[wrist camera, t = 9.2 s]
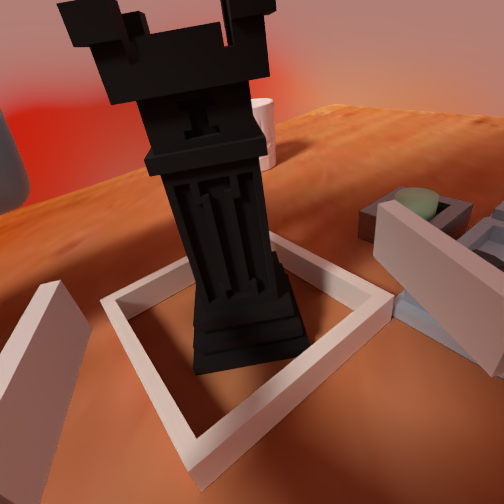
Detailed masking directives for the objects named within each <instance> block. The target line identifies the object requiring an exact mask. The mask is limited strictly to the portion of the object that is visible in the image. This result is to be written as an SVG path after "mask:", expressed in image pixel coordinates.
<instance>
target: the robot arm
mask: <svg viewBox="0 0 504 504" xmlns="http://www.w3.org/2000/svg"><path fill="white" fill-rule="evenodd" d="M29 194H30V181H29V178H28V175H27V172H26V169H25V166H24V164H23V161H22V159H21V156H20V153H19V151H18V149H17V146H16V144H15V141H14V139H13V137H12V134H11V132H10V129H9V127H8V125H7V123H6V120H5V118H4V116H3V114H2V111H1V109H0V215H2V214H5V213H7V212H10V211H12V210H15V209H17V208H19V207H20V206H22V205H23V203H25V201H26V200H27V199H28V197H29ZM373 257H374V258H375V259H376V260H377V261H378V262H379V263H380V264H381V265H382V266H383V267H384V268H385V269H386V270H387V271H388V272H389V273H390V274H391V275H392V276H393V277H394V278H395V279H396V280H397V281H398V282H399V283H400V284H401V285H402V286H403V287H404V288H405V289H406V290H407V291H408V292H409V294H410V295H411V296H412V297H413V298H414V299H415V300H416V301H417V302H418V303H419V304H420V305H421V306H422V307H423V308H424V309H425V310H426V311H427V312H428V313H429V314H430V315H431V316H432V317H433V318H434V319H435V320H436V321H437V322H438V323H439V324H440V325H441V326H442V327H443V328H444V329H445V330H446V331H447V332H448V333H449V334H450V335H451V337H452V338H453V339H454V340H455V341H456V342H457V343H458V344H459V345H460V346H461V347H462V348H463V349H464V350H465V351H466V352H467V353H468V354H469V355H470V356H471V357H472V358H473V359H474V360H475V361H476V362H477V363H478V364H479V365H480V366H481V367H482V368H483V369H484V370H485V371H486V372H487V373H488V374H489V375H490V376H491V377H494V376H497V375H500V374H504V261H502V260H500V259H499V258H497V257H496V256H494V255H491V254H489V253H486V252H483V251H481V250H478V249H474V250H469V249H468V248H466V247H465V246H463V245H462V244H460V243H459V242H457V241H456V240H454V239H453V238H451V237H450V236H448V235H447V234H445V233H444V232H442V231H441V230H439V229H438V228H436V227H435V226H433V225H432V224H430V223H429V222H427V221H426V220H424V219H423V218H421V217H420V216H418V215H417V214H415V213H414V212H412V211H411V210H409V209H408V208H406V207H405V206H403V205H402V204H400V203H399V202H397V201H396V200H391V201H387V202H383V203H379V204H378V207H377V218H376V229H375V240H374V251H373ZM91 330H92V327H91V325H90V324H89V322H88V321H87V319H86V318H85V316H84V315H83V313H82V312H81V310H80V309H79V307H78V306H77V304H76V302H75V301H74V299H73V298H72V296H71V295H70V293H69V292H68V290H67V289H66V287H65V286H64V284H63V282H62V281H61V280H57V281H53V282H49V283H45V284H41V285H40V286H39V288H38V289H37V291H36V293H35V294H34V296H33V298H32V300H31V301H30V303H29V305H28V307H27V308H26V310H25V312H24V314H23V315H22V317H21V319H20V321H19V322H18V324H17V326H16V327H15V329H14V331H13V333H12V334H11V336H10V338H9V340H8V341H7V343H6V345H5V347H4V348H3V350H2V352H1V353H0V504H40V501H41V498H42V495H43V491H44V488H45V485H46V481H47V478H48V475H49V471H50V468H51V464H52V461H53V458H54V454H55V451H56V448H57V444H58V441H59V438H60V434H61V431H62V427H63V424H64V421H65V417H66V414H67V411H68V407H69V404H70V401H71V397H72V394H73V391H74V387H75V384H76V380H77V377H78V374H79V370H80V367H81V364H82V360H83V357H84V354H85V350H86V347H87V343H88V340H89V337H90V333H91Z"/></svg>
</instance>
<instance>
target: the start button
mask: <svg viewBox="0 0 504 504" xmlns="http://www.w3.org/2000/svg"><path fill="white" fill-rule="evenodd" d="M394 200H396V201H397V202H399V203H400V204H402V205H403V206H405V207H406V208H408V209H409V210H411V211H412V212H414V213H415V214H417V215H418V216H420V217H421V218H423V219H424V220H426V221H427V222H429V221H430V220H431V219H433V218H434V217H435V215H436V210H437V205H438V200H439V195H438V193H437V192H435V191H433V190H430V189H427V188H420V187H410V188H404V189H401V190H399V191H397V192H396V193H395V199H394Z"/></svg>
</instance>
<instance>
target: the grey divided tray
mask: <svg viewBox="0 0 504 504" xmlns="http://www.w3.org/2000/svg"><path fill="white" fill-rule="evenodd" d="M457 242H459V243H460V244H462V245H463V246H465V247H466V248H468V249H469V250H474V249H478V250H481V251H483V252H486V253H489V254H491V255H494V256H496V257H497V258H499V259H500V260H502V261H504V201H503V202H502V203H500V204H499V205H498V206H497V207H496V208H494V211H493V214H492V215H490V216H489V217H484V218H483V219H482V220H480V221H479V222H478V223H477V224H476V225H475V226H473V227H472V228H471V229H470V230H469V231H467V232H466V233H465V234H464V235H463V236H462V237H460V238H459V239H458V240H457ZM392 316H394V317H395V318H397V319H399V320H401V321H402V322H404V323H406V324H408V325H409V326H411V327H413V328H415V329H416V330H418V331H420V332H422V333H423V334H425V335H427V336H429V337H430V338H432V339H434V340H436V341H437V342H439V343H441V344H443V345H444V346H446V347H448V348H450V349H451V350H453V351H455V352H457V353H458V354H460V355H462V356H464V357H465V358H467V359H469V360H471V361H472V362H474V363H476V364H478V363H477V362H476V361H475V360H474V359H473V358H472V357H471V356H470V355H469V354H468V353H467V352H466V351H465V350H464V349H463V348H462V347H461V346H460V345H459V344H458V343H457V342H456V341H455V340H454V339H453V338H452V337H451V335H450V334H449V333H448V332H447V331H446V330H445V329H444V328H443V327H442V326H441V325H440V324H439V323H438V322H437V321H436V320H435V319H434V318H433V317H432V316H431V315H430V314H429V313H428V312H427V311H426V310H425V309H424V308H423V307H422V306H421V305H420V304H419V303H418V302H417V301H416V300H415V299H414V298H413V297H412V296H411V295H410V294H409V292H408V291H407V290H406V289H405V290H403V291H402V292H401V293H400V294H399V295H398V296H396V297H395V298H394V302H393V309H392ZM478 365H479V364H478ZM497 376H499V377H501V378H502V379H504V374H500V375H497Z"/></svg>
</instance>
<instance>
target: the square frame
mask: <svg viewBox="0 0 504 504" xmlns="http://www.w3.org/2000/svg"><path fill="white" fill-rule="evenodd" d="M269 235H270V242H271V250H272V251H276V253H277V256H278V259H279V262H280V263H282V265H283V267H284V268H285V269H287V270H288V271H290V272H292V273H293V274H295V275H297V276H298V277H300V278H301V279H303V280H305V281H306V282H308V283H310V284H311V285H313V286H314V287H316V288H318V289H319V290H321V291H323V292H324V293H326V294H327V295H329V296H331V297H332V298H334V299H335V300H337V301H339V302H340V303H342V304H344V305H345V306H347V307H348V308H350V309H352V310H353V312H352V313H351V314H350V315H348V316H347V317H346V318H345V319H343V320H342V321H341V322H340V323H339V324H337V325H336V326H335V327H334V328H332V329H331V330H330V331H329V332H327V333H326V334H325V335H324V336H323V337H321V338H320V339H319V340H318V341H316V342H315V343H314V344H313V345H311V346H310V347H309V348H308V349H307V350H305V351H304V352H303V353H302V354H300V355H299V356H298V357H297V358H296V359H294V360H293V361H292V362H291V363H289V364H288V365H287V366H286V367H284V368H283V369H282V370H281V371H280V372H278V373H277V374H276V375H275V376H273V377H272V378H271V379H270V380H268V381H267V382H266V383H265V384H264V385H262V386H261V387H260V388H259V389H257V390H256V391H255V392H254V393H253V394H251V395H250V396H249V397H248V398H246V399H245V400H244V401H243V402H241V403H240V404H239V405H238V406H237V407H235V408H234V409H233V410H232V411H230V412H229V413H228V414H227V415H225V416H224V417H223V418H222V419H221V420H219V421H218V422H217V423H216V424H214V425H213V426H212V427H211V428H210V429H208V430H207V431H206V432H205V433H203V434H202V435H201V436H200V437H198V438H197V439H196V437H195V435H194V434H193V432H192V430H191V429H190V427H189V425H188V424H187V422H186V420H185V418H184V417H183V415H182V413H181V412H180V410H179V408H178V407H177V405H176V403H175V401H174V400H173V398H172V396H171V395H170V393H169V391H168V389H167V388H166V386H165V384H164V383H163V381H162V379H161V378H160V376H159V374H158V372H157V371H156V369H155V367H154V366H153V364H152V362H151V361H150V359H149V357H148V355H147V354H146V352H145V350H144V349H143V347H142V345H141V343H140V342H139V340H138V338H137V337H136V335H135V333H134V332H133V330H132V328H131V326H130V325H129V323H128V321H127V320H129V319H131V318H133V317H135V316H136V315H138V314H140V313H142V312H144V311H145V310H147V309H149V308H151V307H152V306H154V305H156V304H158V303H160V302H161V301H163V300H165V299H167V298H169V297H170V296H172V295H174V294H176V293H178V292H179V291H181V290H183V289H185V288H186V287H188V286H190V285H192V284H194V283H195V279H194V276H193V273H192V270H191V266H190V263H189V260H188V257H187V256H185V257H183V258H181V259H179V260H177V261H175V262H173V263H171V264H169V265H167V266H166V267H164V268H162V269H160V270H158V271H156V272H154V273H152V274H150V275H148V276H146V277H144V278H142V279H140V280H138V281H136V282H134V283H132V284H130V285H128V286H126V287H124V288H122V289H120V290H118V291H116V292H114V293H112V294H110V295H108V296H107V297H105V298H103V299H101V300H100V302H101V304H102V306H103V308H104V310H105V312H106V314H107V316H108V318H109V320H110V322H111V323H112V325H113V327H114V329H115V331H116V333H117V335H118V337H119V339H120V341H121V343H122V345H123V347H124V349H125V351H126V353H127V355H128V357H129V358H130V360H131V362H132V364H133V366H134V368H135V370H136V372H137V374H138V376H139V378H140V380H141V382H142V384H143V386H144V388H145V390H146V392H147V394H148V395H149V397H150V399H151V401H152V403H153V405H154V407H155V409H156V411H157V413H158V415H159V417H160V419H161V421H162V423H163V425H164V427H165V429H166V430H167V432H168V434H169V436H170V438H171V440H172V442H173V444H174V446H175V448H176V450H177V452H178V454H179V456H180V458H181V460H182V462H183V464H184V466H185V467H186V469H187V471H188V473H189V475H190V476H191V478H192V479H193V481H194V482H195V484H196V486H197V487H198V489H199V490H200V492H201V493H202V492H203V491H204V490H205V489H206V488H207V487H208V486H209V485H210V484H211V483H213V482H214V481H215V480H216V479H217V478H218V477H219V476H220V475H221V474H222V473H224V472H225V471H226V470H227V469H228V468H229V467H230V466H231V465H232V464H233V463H235V462H236V461H237V460H238V459H239V458H240V457H241V456H242V455H243V454H244V453H246V452H247V451H248V450H249V449H250V448H251V447H252V446H253V445H254V444H255V443H257V442H258V441H259V440H260V439H261V438H262V437H263V436H264V435H265V434H266V433H268V432H269V431H270V430H271V429H272V428H273V427H274V426H275V425H276V424H278V423H279V422H280V421H281V420H282V419H283V418H284V417H285V416H286V415H287V414H289V413H290V412H291V411H292V410H293V409H294V408H295V407H296V406H297V405H298V404H300V403H301V402H302V401H303V400H304V399H305V398H306V397H307V396H308V395H309V394H311V393H312V392H313V391H314V390H315V389H316V388H317V387H318V386H319V385H320V384H322V383H323V382H324V381H325V380H326V379H327V378H328V377H329V376H330V375H331V374H333V373H334V372H335V371H336V370H337V369H338V368H339V367H340V366H341V365H343V364H344V363H345V362H346V361H347V360H348V359H349V358H350V357H351V356H352V355H354V354H355V353H356V352H357V351H358V350H359V349H360V348H361V347H362V346H363V345H365V344H366V343H367V342H368V341H369V340H370V339H371V338H372V337H373V336H374V335H376V334H377V333H378V332H379V331H380V330H381V329H382V328H383V327H384V326H385V325H387V324H388V323H389V322H390V321H391V315H392V309H393V302H394V296H395V295H393V294H391V293H389V292H387V291H385V290H383V289H381V288H379V287H377V286H375V285H373V284H371V283H369V282H368V281H366V280H364V279H362V278H360V277H358V276H356V275H354V274H352V273H350V272H348V271H346V270H344V269H342V268H340V267H338V266H337V265H335V264H333V263H331V262H329V261H327V260H325V259H323V258H321V257H319V256H317V255H315V254H313V253H311V252H309V251H308V250H306V249H304V248H302V247H300V246H298V245H296V244H294V243H292V242H290V241H288V240H286V239H284V238H282V237H280V236H279V235H277V234H275V233H273V232H271V231H269Z"/></svg>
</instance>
